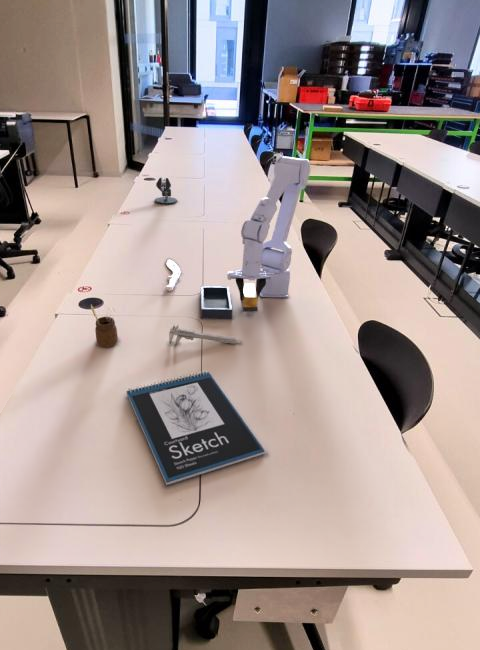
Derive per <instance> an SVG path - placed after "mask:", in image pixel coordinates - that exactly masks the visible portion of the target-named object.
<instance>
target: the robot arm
mask: <svg viewBox="0 0 480 650" xmlns="http://www.w3.org/2000/svg"><path fill="white" fill-rule="evenodd" d="M310 174H311V162H310V160H309V159H308V158H299V157H293V156H286V155H285V156H284V155H283V154H281V155H279V156H278V157H277V159H276V160H275V162H274V169H273V176H274V178H273V180H272V182H271V185H270V187H269V189H268V191H267V193H266V196H265V197H264V198H260V200H259V202H258V203H257V206H256V207H255V209H254V211H253V213H252V215H251V217H250V218H249V219H247V220H245V221H244V222H243V224H242V227H241V230H240V235H241V238H242V244H243V251H242V252H243V254H242V266H241V269H239V270H232V271H227V274H226V275H227V280H229V281H231V280H235V283H236V286H237V289H238V292H239V300H240V302H241V301H243V289H244V283H245V280H248V281H255V288H256V292H257V296H258V298H259V297H260V298H288V297H289V296H288V295H289V288H290V281H291V272H290V271H291V270H290V269H289V267H290V266H291V263H292V253H293V248H292V247H291V246H290V245H289V243H288V242H287V241H288V237H289V233H290V229H291V226H292V222H293V219H294V215H295V211H296V208H297V204H298V200H299V197H300V194H301V191H302V190H304V189H306V187H307V184H308V182H309V177H310ZM281 196H282V199H281V202H280V206H279V209H278V205H277V203H278V202H279V200H280V198H281ZM277 210H278V214H277V217H276V220H275V221H276V222H275V225H274V230H273V232H272V236H271V239H269V240H267V241H265V240H266V239H267V237H268V235H269V230H270V227H271V225H270V223H271V222H272V220H273V218H274V216H275V214H276V212H277ZM261 269H262V270H261Z"/></svg>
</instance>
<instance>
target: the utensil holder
mask: <svg viewBox="0 0 480 650" xmlns="http://www.w3.org/2000/svg"><path fill="white" fill-rule="evenodd" d="M90 309H91V311H92V314H93V316H94V317H95V327H94V328H95V329H94V330H95V339H96V343H97V345H98V346H100V347H103V348H111V347H114V346H115V345H116V344H117V343H118V340H119V337H118V328H117V326H116V321H115V316H112V313H110V315H109V316H108V312H106V313H105V315H106V316H101V317H97V313H96V310H95V309H94V306H93V304H90ZM111 310H112V312H115V308H114V307H109V308H108V309H106V311H111Z"/></svg>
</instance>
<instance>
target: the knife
mask: <svg viewBox="0 0 480 650" xmlns="http://www.w3.org/2000/svg"><path fill="white" fill-rule="evenodd" d="M165 265H166V267H167V268H168V269H169V270H170V271H172V274H171V275H168V276H167V280H168V285H165V286H164V288H163V289H164V290H165V291H167V292H172V291H173V290H174V288H175V286H176V284H177V282H178V280H179V277H180V276H181V274H182V273H181V268H180V267H179V266H178V264H177V263H176V262H175V261H173V260H172V259H170V258H169V259H167V261H166V264H165Z"/></svg>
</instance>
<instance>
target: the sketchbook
mask: <svg viewBox="0 0 480 650" xmlns="http://www.w3.org/2000/svg"><path fill="white" fill-rule="evenodd" d="M146 385H147V386H146ZM136 387H137V388H135V386H134V387H133V389H132V387H129V388H128V390H127V391H126V397H127V399H128V400H129V403H130V406H131V408H132V409H133V410H132V411H133V412H134V414H135V416H136V418H137V421H138V424H139V426H140V428H141V431H142V432H143V435H144V437H145V439H146V442H147V444H148V446H149V449H150V450H151V453H152V455H153V458H154V460H155V462H156V464H157V467H158V469H159V471H160V474H161V476H162V478H163V480H164V483H165V485H166V486H170V485H173V484H177V483H180V482H183V481H186V480H189V479H192V478H195V477H199V476H201V475H202V476H203V475H205V474H208V473H211V472H214V471H217V470H220V469H223V468H227V467H229V466H233V465H235V464H239V463H243V462H244V461H248V460H251V459H254V458H258V457H260V456H264V455H265V452H266V451H265V449H264V448H263V446H262V445H261V443H260V442H259V440H258V439H257V437H255V435H254V434H253V432H252V430H251V429H250V428H249V426H248V425H247V424H246V422H245V421H244V420H243V418H242V416H241V415H240V414H239V413H238V411H237V410H236V408H235V407H234V405H233V404H232V403H231V401H230V399H229V398H228V397H227V396H226V394H225V393H224V391H223V390H222V388H221V387H220V385H219V384H218V383H217V382H216V380H215V379H214V377H213V376H212V374H211V373H210V372H209V371H206V370H202V371H199V372H195V373H189V375H188V374H186V376H185V375H183V377H182V376H181V375H180V377H179V376H177V377H173V378H170V380H169V378H167V379H163V381H162V380H160V383H159V381H157V383H156V382H155V381H154V383H152V382H150V384H148V383H147V384H143V386H142V385H140V387H139V386H136Z"/></svg>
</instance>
